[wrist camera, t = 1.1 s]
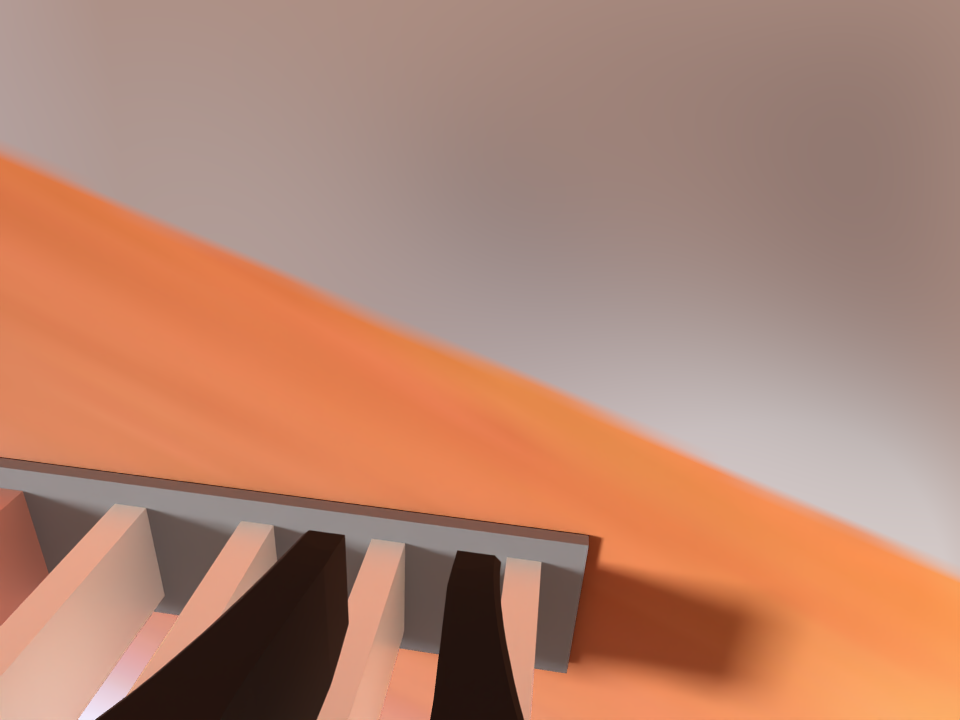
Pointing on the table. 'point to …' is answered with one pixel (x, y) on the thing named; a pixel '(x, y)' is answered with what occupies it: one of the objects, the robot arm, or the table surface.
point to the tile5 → (17, 553)
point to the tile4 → (80, 620)
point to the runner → (218, 511)
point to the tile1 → (521, 624)
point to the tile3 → (218, 590)
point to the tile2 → (370, 636)
